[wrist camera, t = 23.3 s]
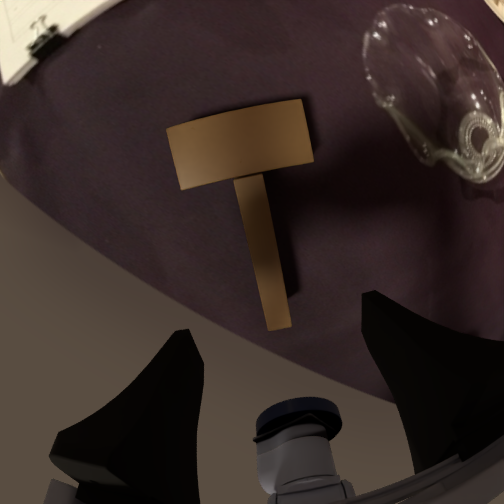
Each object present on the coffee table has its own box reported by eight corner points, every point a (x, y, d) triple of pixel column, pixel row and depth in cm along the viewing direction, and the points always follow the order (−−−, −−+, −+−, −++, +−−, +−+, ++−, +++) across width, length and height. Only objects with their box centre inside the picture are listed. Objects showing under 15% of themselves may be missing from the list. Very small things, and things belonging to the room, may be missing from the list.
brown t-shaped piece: (227, 312, 22) (224, 339, 18) (177, 130, 17) (163, 127, 14) (323, 292, 21) (335, 316, 18) (292, 105, 16) (302, 96, 13)
